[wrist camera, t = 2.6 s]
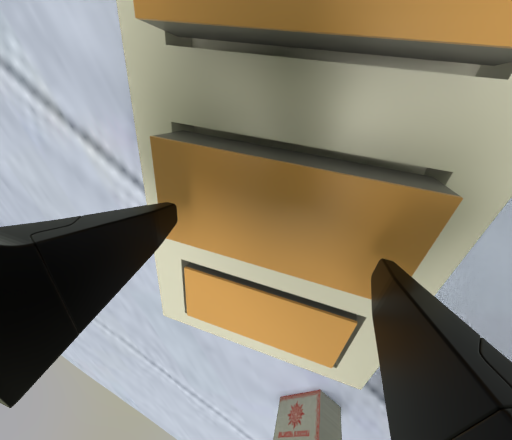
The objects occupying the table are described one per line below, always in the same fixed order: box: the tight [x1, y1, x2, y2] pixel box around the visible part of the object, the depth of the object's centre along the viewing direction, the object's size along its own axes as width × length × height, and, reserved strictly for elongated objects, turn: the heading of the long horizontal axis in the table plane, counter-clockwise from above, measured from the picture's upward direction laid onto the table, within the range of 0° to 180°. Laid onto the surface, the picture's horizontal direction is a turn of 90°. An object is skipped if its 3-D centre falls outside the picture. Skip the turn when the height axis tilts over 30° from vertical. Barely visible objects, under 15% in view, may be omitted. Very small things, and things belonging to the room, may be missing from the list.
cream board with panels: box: [116, 0, 512, 390], centre depth 13 cm, size 23×30×3 cm
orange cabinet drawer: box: [184, 262, 357, 368], centre depth 18 cm, size 13×6×3 cm, turn 84°
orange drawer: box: [150, 130, 463, 299], centre depth 12 cm, size 13×6×3 cm, turn 84°
